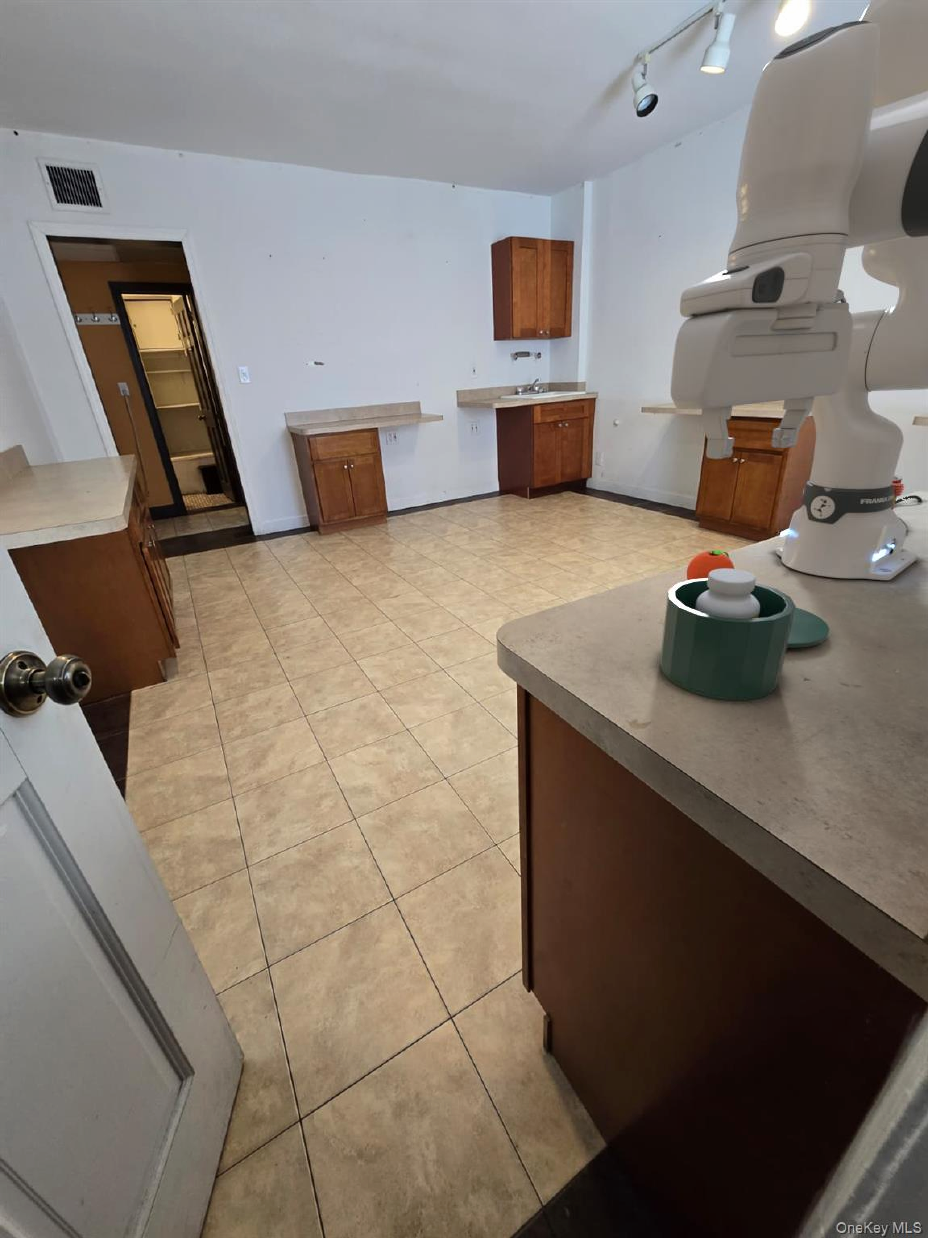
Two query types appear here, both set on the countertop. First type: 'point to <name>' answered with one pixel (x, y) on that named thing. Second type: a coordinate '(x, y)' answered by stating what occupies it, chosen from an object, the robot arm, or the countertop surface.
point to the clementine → (708, 564)
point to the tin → (725, 644)
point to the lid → (806, 629)
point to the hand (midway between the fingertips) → (751, 452)
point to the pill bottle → (729, 595)
